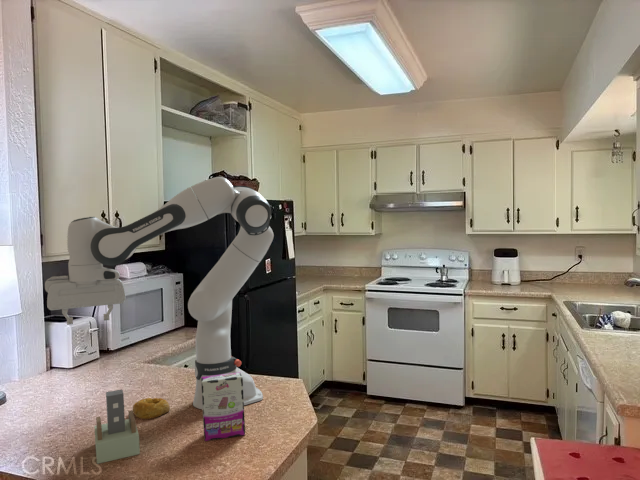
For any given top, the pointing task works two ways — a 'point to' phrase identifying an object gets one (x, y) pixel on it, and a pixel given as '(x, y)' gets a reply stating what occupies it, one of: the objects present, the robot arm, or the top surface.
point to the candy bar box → (223, 406)
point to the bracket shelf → (116, 441)
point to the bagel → (150, 408)
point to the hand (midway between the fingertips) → (88, 322)
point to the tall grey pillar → (115, 411)
